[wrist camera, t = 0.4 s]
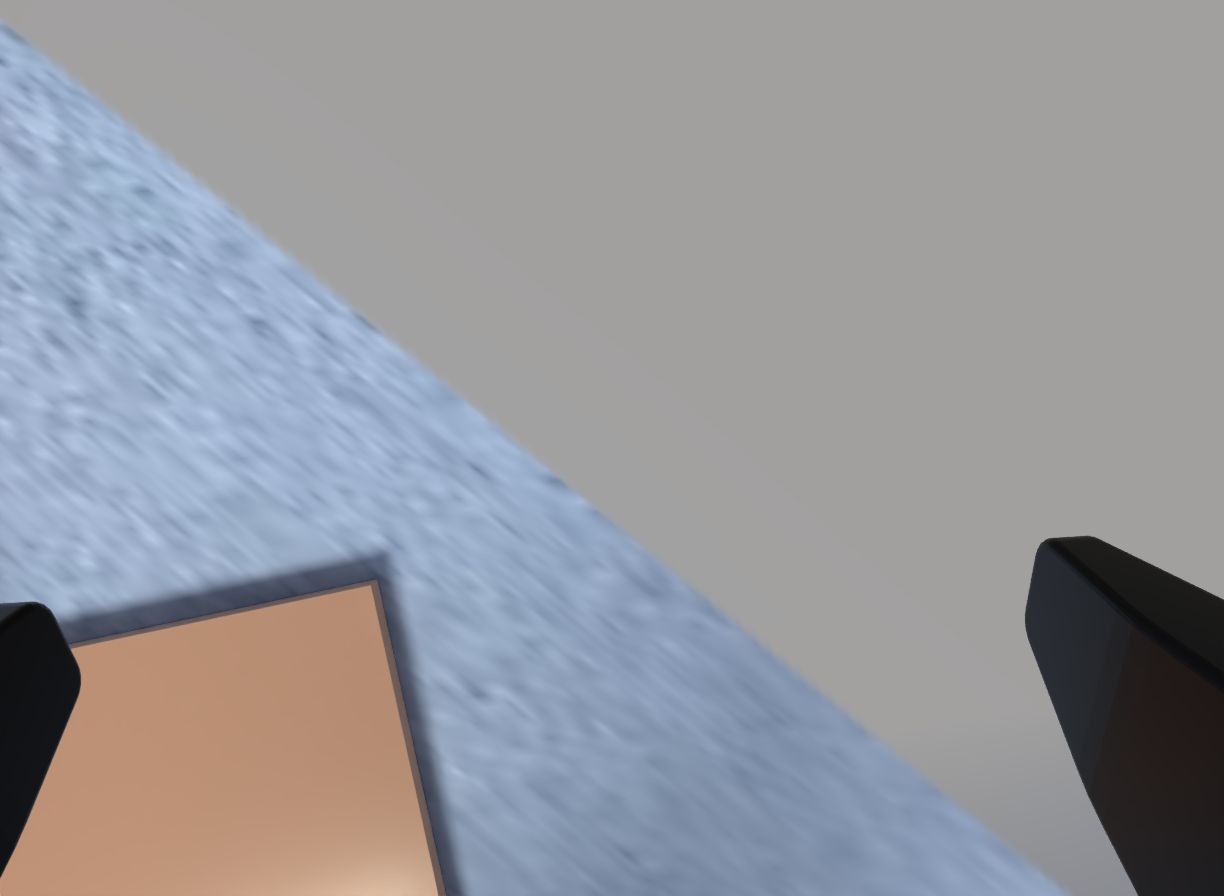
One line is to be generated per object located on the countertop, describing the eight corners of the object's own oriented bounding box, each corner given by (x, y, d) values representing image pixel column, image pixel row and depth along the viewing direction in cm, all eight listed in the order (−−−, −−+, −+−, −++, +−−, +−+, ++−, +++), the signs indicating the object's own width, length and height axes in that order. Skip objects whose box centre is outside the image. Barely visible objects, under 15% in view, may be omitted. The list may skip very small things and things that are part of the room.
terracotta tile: (459, 957, 22) (456, 977, 22) (63, 1052, 22) (44, 1076, 21) (377, 579, 22) (370, 585, 21) (-31, 665, 21) (-54, 675, 20)
